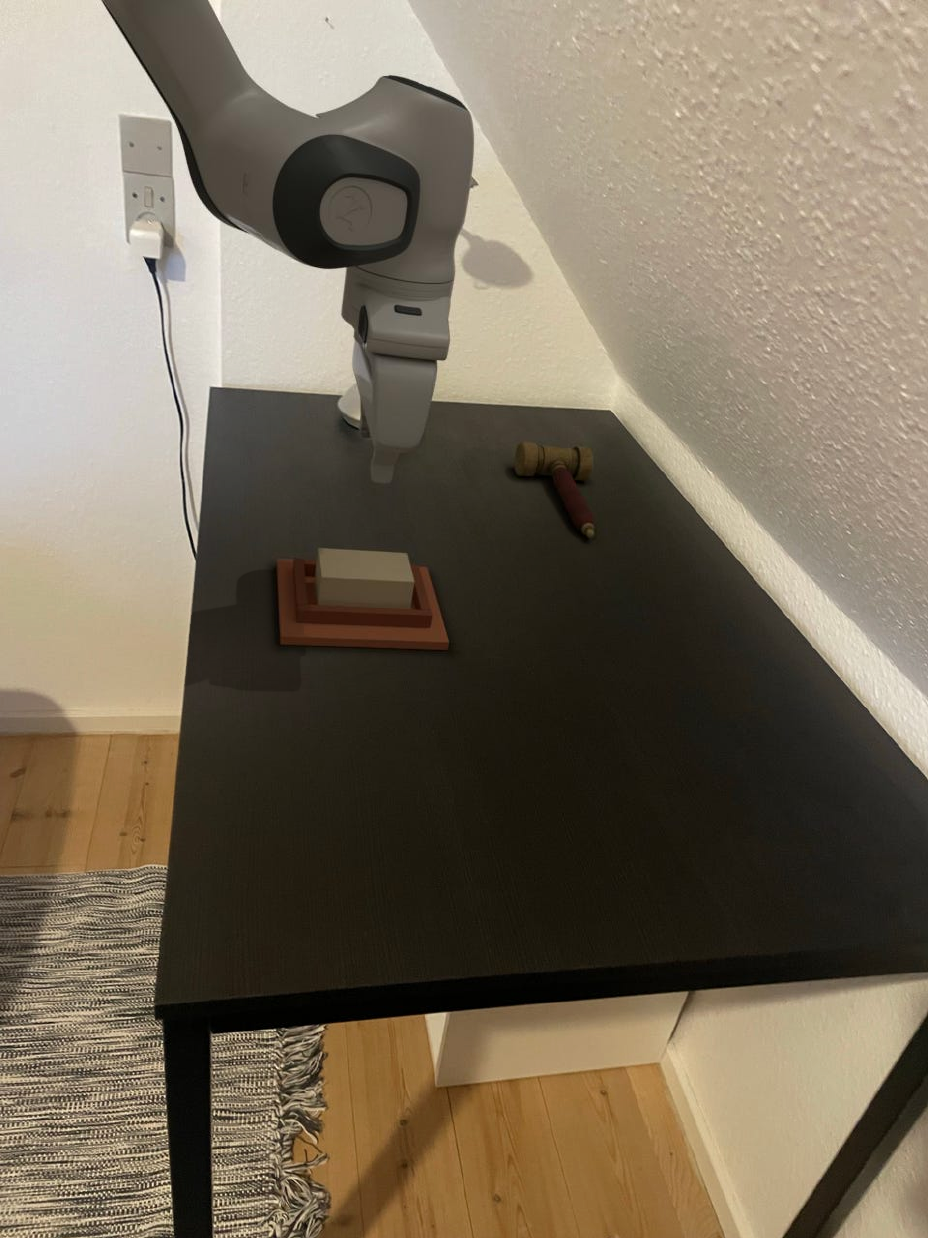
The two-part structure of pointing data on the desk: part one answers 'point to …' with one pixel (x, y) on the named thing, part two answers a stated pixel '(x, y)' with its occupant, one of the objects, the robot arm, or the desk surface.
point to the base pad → (355, 615)
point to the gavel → (561, 476)
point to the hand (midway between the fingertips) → (373, 456)
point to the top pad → (363, 579)
